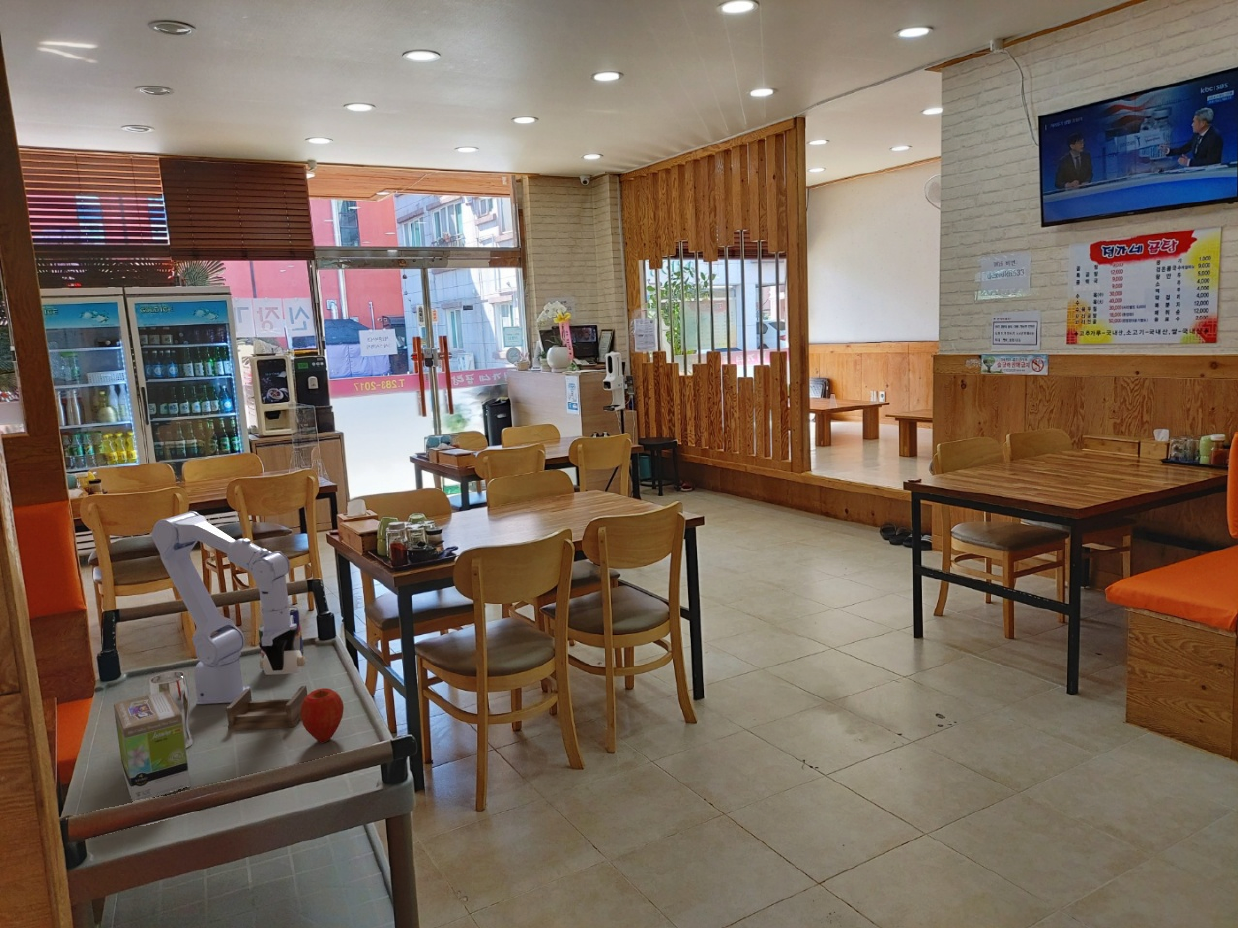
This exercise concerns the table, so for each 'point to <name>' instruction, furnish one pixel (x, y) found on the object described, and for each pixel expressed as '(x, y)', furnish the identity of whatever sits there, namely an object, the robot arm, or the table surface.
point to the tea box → (152, 745)
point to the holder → (264, 711)
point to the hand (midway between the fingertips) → (282, 664)
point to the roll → (285, 663)
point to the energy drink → (298, 638)
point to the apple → (322, 713)
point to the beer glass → (175, 695)
